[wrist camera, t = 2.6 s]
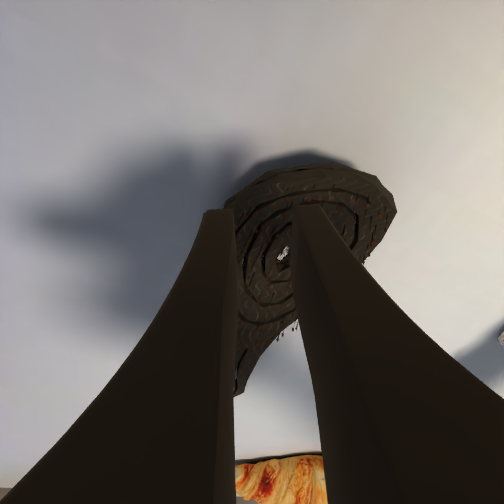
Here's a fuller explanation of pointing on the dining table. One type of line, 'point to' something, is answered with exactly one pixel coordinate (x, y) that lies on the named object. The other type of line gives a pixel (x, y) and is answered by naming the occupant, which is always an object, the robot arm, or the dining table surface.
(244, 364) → the hairbrush
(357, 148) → the dining table surface
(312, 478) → the croissant
